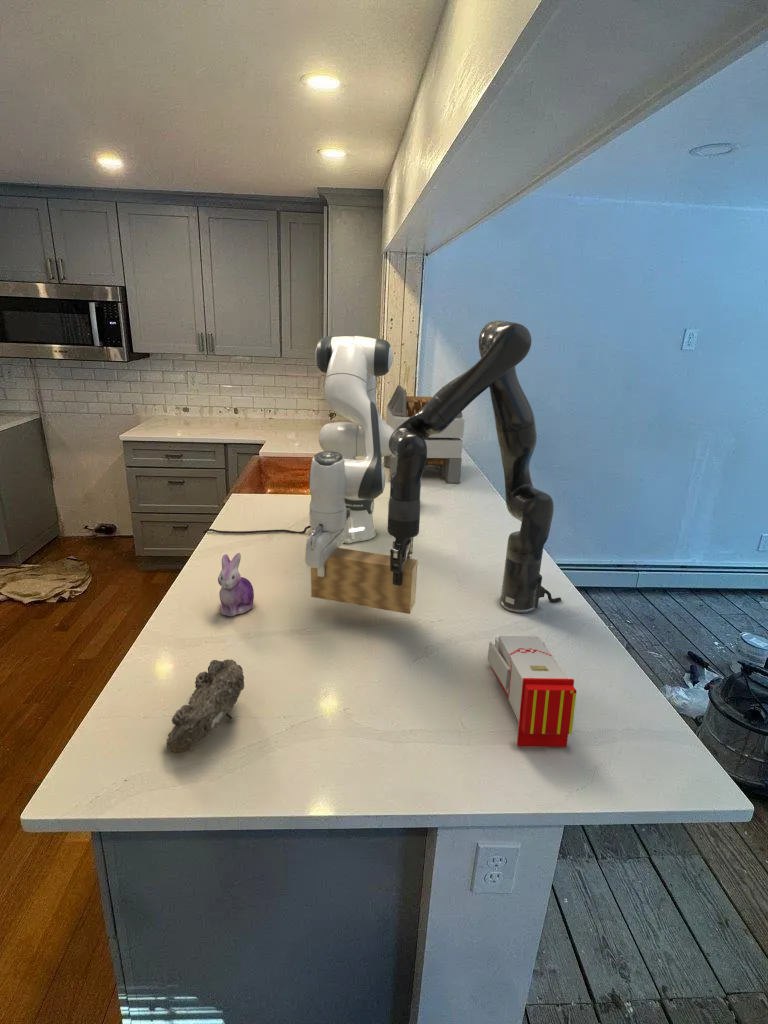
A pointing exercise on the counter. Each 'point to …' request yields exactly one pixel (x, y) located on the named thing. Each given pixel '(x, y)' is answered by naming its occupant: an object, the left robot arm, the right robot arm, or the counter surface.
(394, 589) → the box
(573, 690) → the toy
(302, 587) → the counter surface
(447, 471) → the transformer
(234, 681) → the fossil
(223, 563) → the figurine
